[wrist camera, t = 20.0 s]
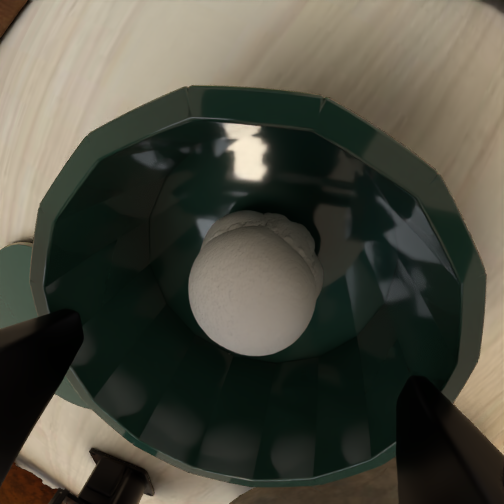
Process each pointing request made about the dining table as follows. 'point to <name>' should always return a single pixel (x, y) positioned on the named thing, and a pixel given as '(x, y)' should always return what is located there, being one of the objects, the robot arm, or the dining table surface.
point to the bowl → (334, 490)
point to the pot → (327, 304)
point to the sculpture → (9, 12)
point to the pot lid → (23, 300)
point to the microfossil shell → (255, 282)
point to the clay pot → (24, 488)
